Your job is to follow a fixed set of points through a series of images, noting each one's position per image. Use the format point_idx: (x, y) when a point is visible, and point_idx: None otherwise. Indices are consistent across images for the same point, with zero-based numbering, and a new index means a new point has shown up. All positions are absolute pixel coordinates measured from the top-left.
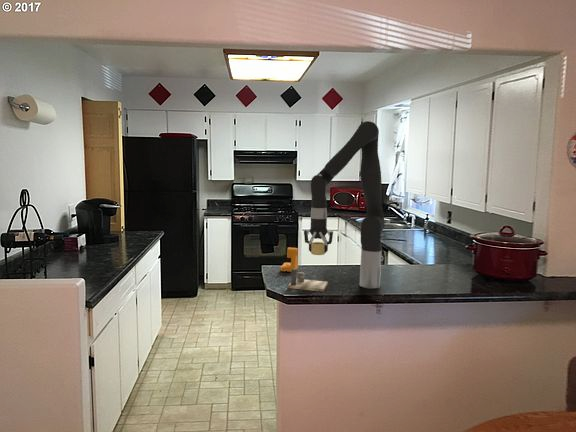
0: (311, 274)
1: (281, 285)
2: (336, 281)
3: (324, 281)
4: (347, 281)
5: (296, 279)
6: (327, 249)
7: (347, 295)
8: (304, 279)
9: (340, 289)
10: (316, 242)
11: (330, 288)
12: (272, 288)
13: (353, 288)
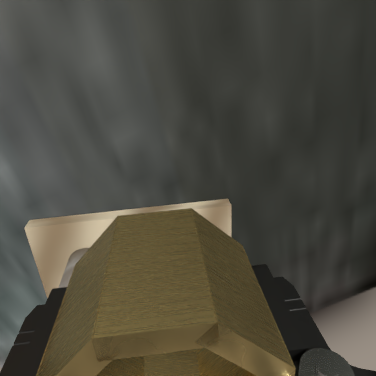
0: (58, 12)
1: (14, 311)
2: (269, 122)
3: (212, 208)
4: (335, 92)
5: (47, 241)
6: (295, 304)
7: (330, 302)
8: (91, 222)
9: (300, 247)
10: (101, 368)
11: (252, 253)
12: (4, 358)
13: (361, 207)
